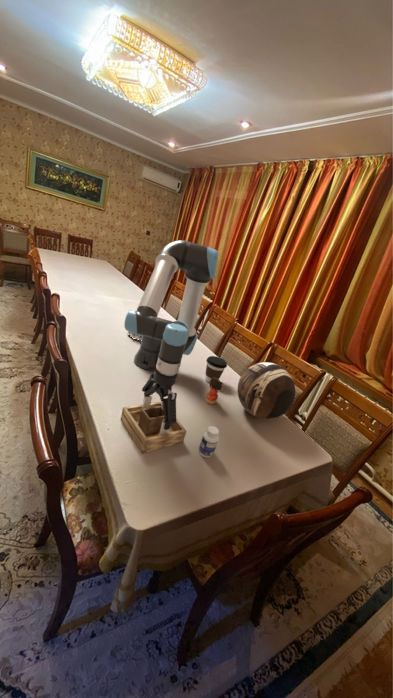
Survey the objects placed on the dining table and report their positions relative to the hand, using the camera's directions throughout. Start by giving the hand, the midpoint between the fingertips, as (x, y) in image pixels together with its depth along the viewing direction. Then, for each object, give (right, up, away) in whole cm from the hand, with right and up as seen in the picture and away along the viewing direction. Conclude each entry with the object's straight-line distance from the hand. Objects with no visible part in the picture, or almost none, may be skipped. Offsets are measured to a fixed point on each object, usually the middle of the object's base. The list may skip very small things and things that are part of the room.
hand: (153, 422), depth 102 cm
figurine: (+22, +2, +31) cm, 38 cm away
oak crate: (-1, -3, +1) cm, 3 cm away
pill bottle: (+18, -10, -2) cm, 21 cm away
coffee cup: (+23, +9, +50) cm, 56 cm away
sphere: (+43, -4, +31) cm, 53 cm away
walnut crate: (-1, -2, +1) cm, 2 cm away
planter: (-20, +34, +80) cm, 89 cm away
